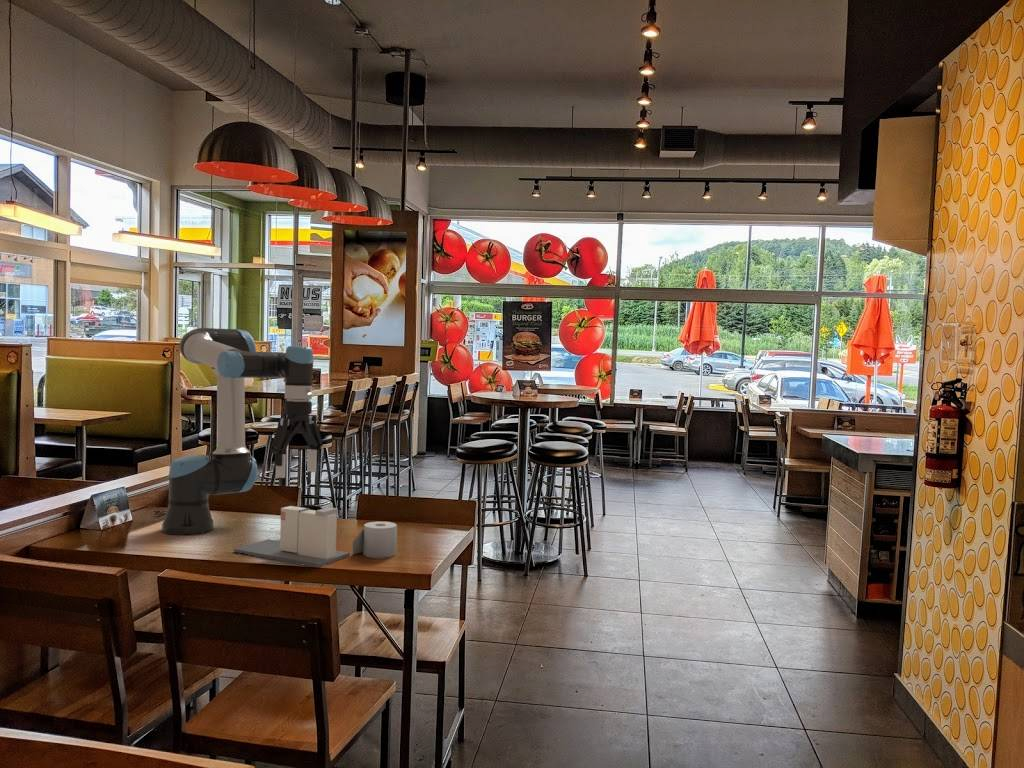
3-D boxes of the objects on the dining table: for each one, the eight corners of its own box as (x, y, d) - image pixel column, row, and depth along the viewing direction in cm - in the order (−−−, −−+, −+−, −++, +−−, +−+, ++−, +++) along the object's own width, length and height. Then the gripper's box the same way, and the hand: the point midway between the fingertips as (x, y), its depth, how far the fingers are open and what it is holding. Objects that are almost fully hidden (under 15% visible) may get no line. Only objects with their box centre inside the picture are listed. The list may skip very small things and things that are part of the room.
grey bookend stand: (233, 552, 220) (234, 502, 219) (268, 542, 232) (269, 495, 232) (317, 567, 207) (319, 515, 207) (349, 556, 220) (350, 506, 219)
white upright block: (279, 550, 219) (280, 508, 218) (289, 547, 223) (290, 505, 222) (296, 552, 216) (297, 510, 216) (306, 549, 220) (307, 508, 220)
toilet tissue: (345, 554, 222) (346, 525, 221) (386, 548, 230) (387, 520, 230) (360, 561, 214) (361, 531, 214) (401, 555, 223) (402, 526, 223)
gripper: (279, 402, 206) (277, 481, 207) (335, 399, 229) (333, 470, 230) (257, 401, 209) (255, 478, 210) (315, 398, 232) (313, 468, 233)
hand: (296, 474), depth 220 cm, fingers open, 13 cm apart
